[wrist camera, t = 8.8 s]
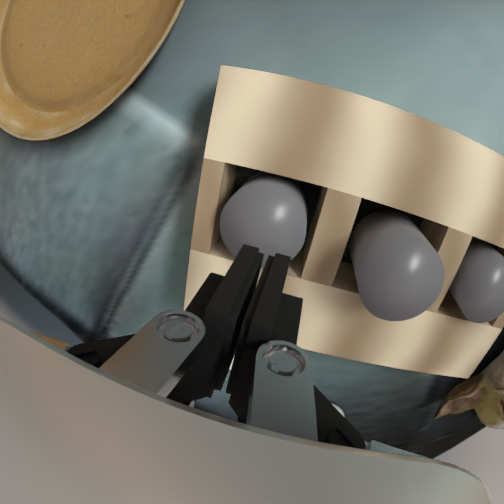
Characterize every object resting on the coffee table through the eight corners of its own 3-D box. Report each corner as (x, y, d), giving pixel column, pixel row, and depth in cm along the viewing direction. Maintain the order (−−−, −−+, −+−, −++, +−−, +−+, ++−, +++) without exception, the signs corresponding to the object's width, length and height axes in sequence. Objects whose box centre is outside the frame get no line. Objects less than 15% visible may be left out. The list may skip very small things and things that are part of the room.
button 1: (315, 179, 20) (316, 198, 16) (298, 243, 22) (293, 277, 18) (246, 162, 20) (227, 176, 16) (233, 226, 22) (213, 255, 18)
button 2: (496, 241, 19) (527, 270, 14) (472, 292, 21) (496, 327, 17) (452, 223, 19) (481, 252, 15) (428, 279, 21) (449, 316, 17)
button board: (533, 180, 16) (563, 194, 13) (454, 347, 23) (467, 378, 20) (238, 73, 18) (221, 65, 14) (200, 286, 25) (183, 315, 21)
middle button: (429, 221, 18) (458, 254, 13) (402, 284, 20) (421, 328, 15) (362, 200, 18) (378, 228, 14) (339, 267, 20) (345, 310, 16)
